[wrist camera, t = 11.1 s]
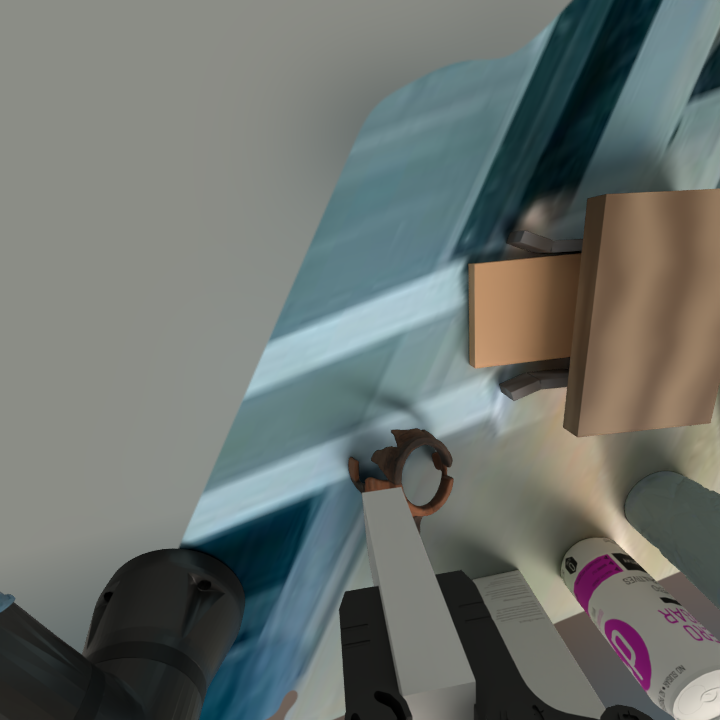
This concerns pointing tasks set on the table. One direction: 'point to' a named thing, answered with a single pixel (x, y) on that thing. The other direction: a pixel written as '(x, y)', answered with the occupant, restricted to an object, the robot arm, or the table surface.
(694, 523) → the grey cylindrical pot
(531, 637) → the skincare box
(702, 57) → the table surface
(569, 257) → the terracotta panel
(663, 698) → the supplement can
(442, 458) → the broken clay pot
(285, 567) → the table surface
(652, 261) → the walnut shelf
